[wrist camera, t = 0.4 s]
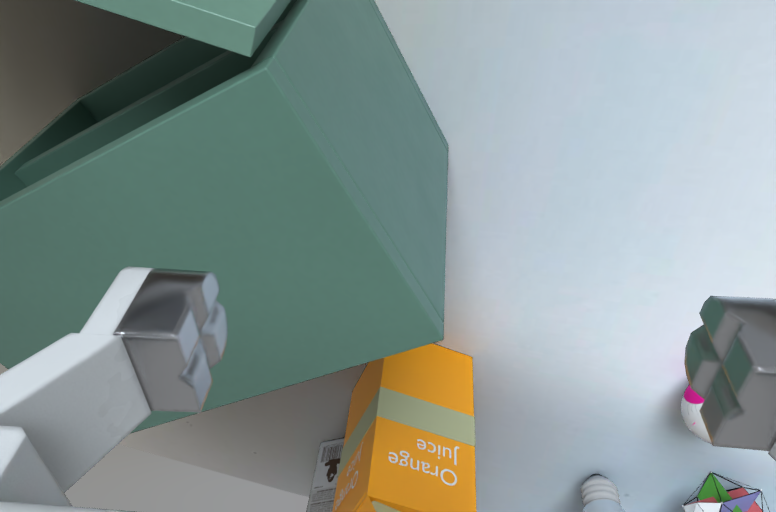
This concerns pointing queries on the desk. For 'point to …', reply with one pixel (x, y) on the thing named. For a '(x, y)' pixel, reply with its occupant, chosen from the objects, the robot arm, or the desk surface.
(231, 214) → the cabinet
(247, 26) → the cabinet door
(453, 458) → the orange juice
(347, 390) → the desk surface
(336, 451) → the coffee box
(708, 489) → the geometric puzzle
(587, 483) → the light bulb
